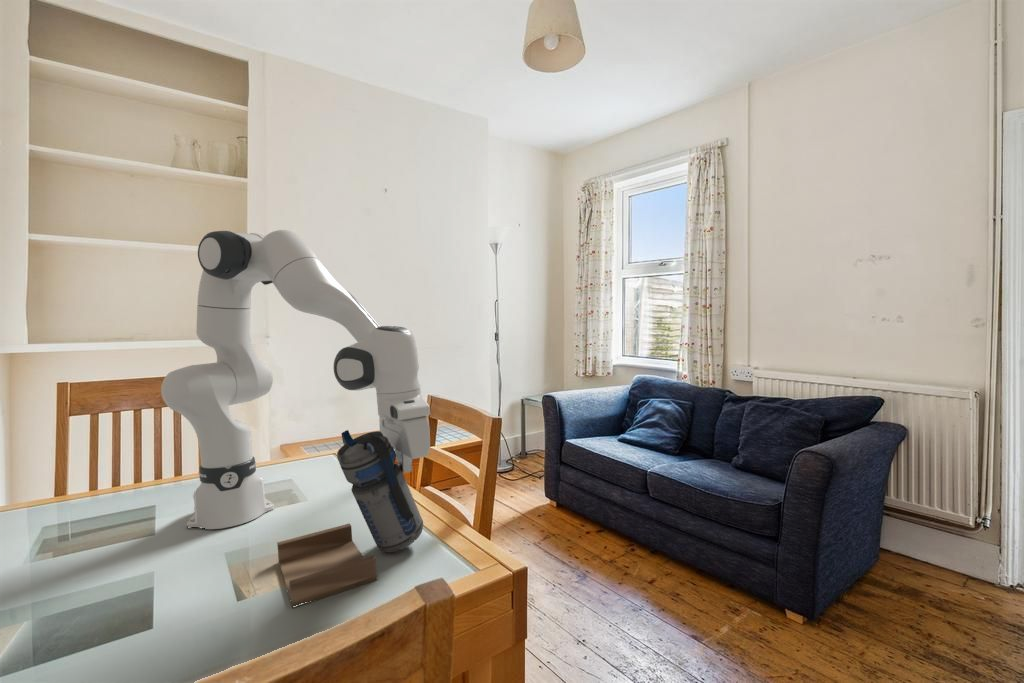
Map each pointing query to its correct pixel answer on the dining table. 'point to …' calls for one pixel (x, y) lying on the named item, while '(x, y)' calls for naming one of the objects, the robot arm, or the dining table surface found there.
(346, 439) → the beverage bottle
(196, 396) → the robot arm
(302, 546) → the walnut cradle
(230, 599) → the dining table surface
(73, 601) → the dining table surface
